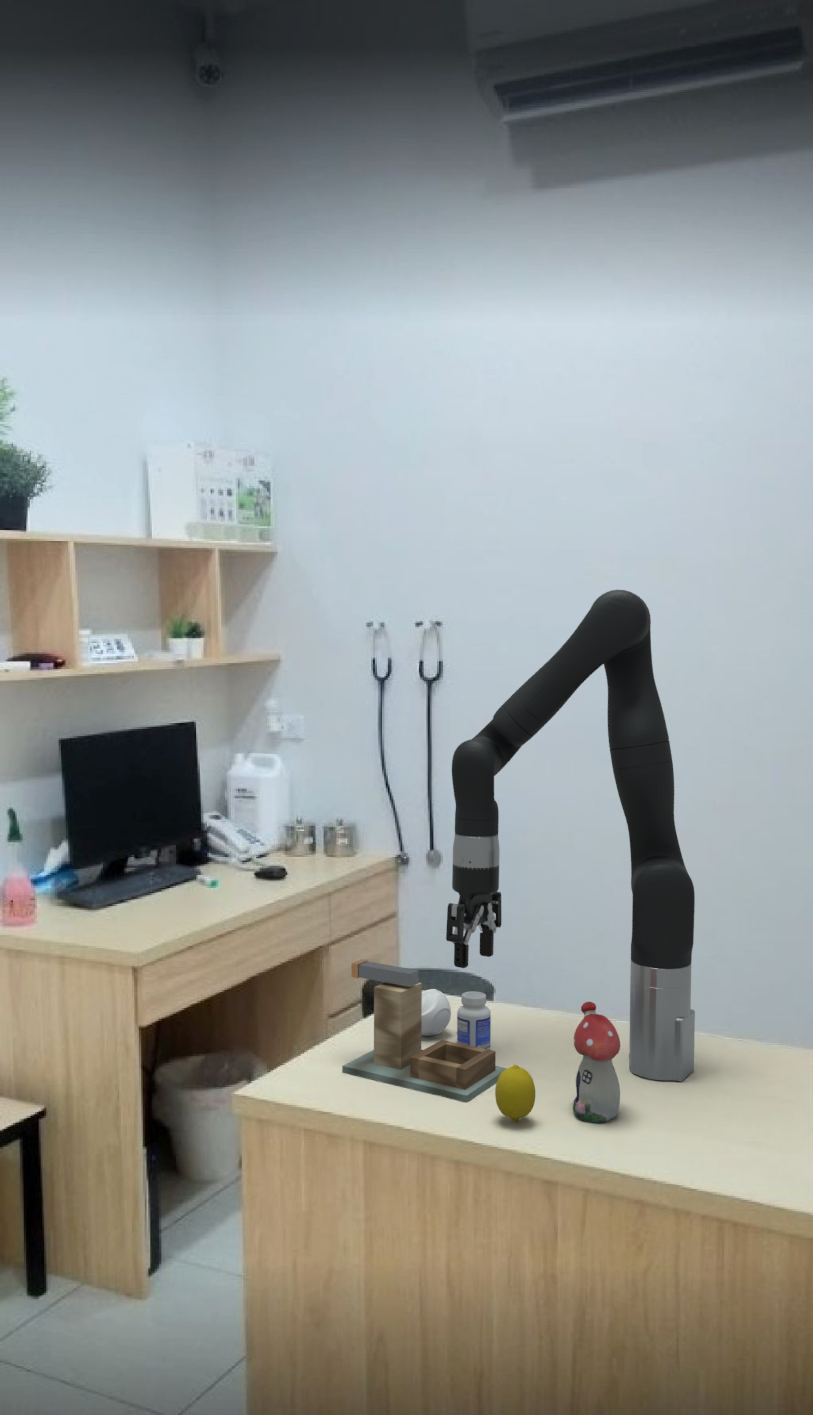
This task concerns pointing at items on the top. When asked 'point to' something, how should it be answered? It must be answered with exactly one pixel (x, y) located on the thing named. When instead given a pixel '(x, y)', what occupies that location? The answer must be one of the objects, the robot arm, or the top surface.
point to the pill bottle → (474, 1021)
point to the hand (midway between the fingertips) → (474, 961)
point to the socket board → (420, 1051)
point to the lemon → (515, 1093)
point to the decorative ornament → (596, 1067)
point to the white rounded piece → (434, 1012)
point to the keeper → (385, 973)
